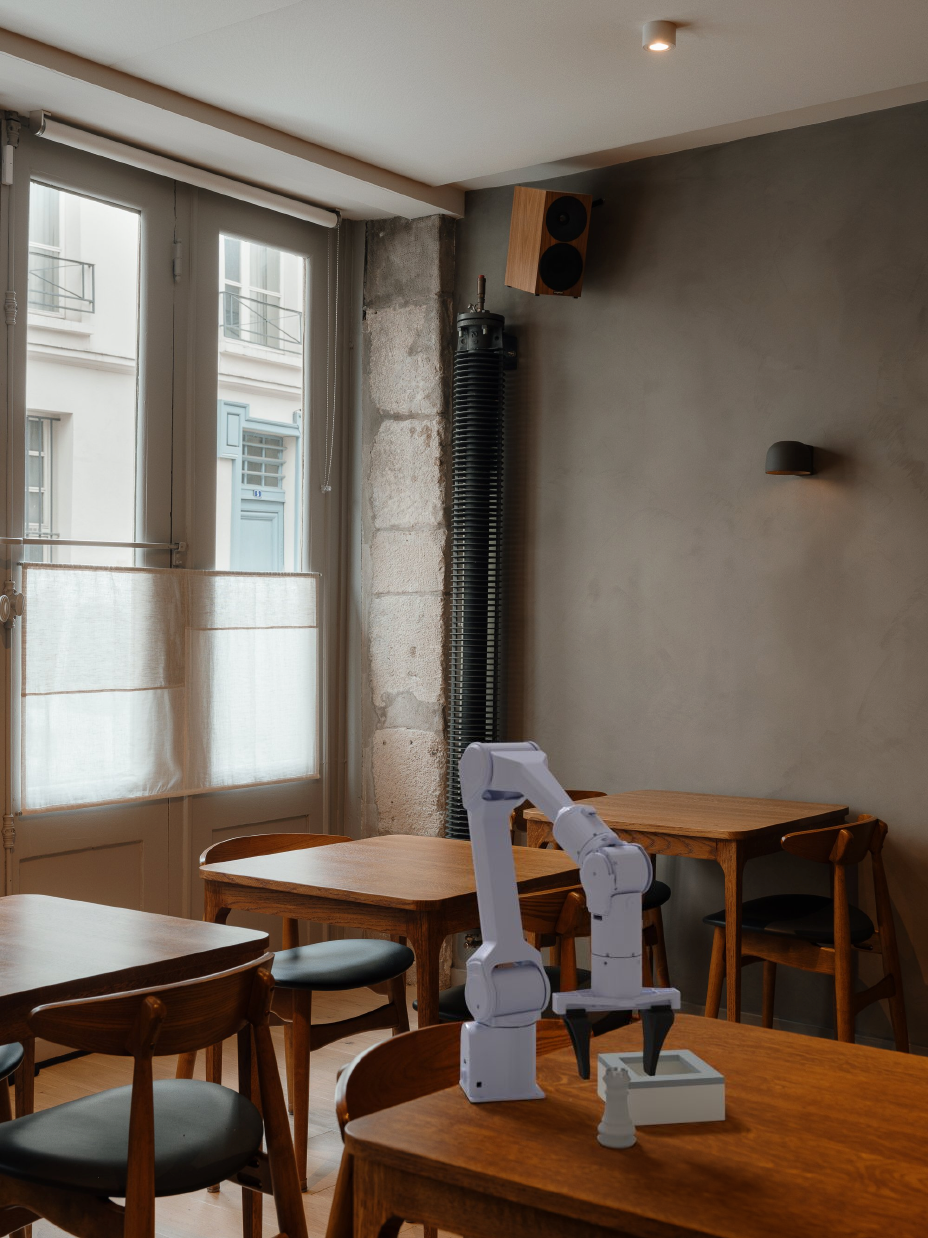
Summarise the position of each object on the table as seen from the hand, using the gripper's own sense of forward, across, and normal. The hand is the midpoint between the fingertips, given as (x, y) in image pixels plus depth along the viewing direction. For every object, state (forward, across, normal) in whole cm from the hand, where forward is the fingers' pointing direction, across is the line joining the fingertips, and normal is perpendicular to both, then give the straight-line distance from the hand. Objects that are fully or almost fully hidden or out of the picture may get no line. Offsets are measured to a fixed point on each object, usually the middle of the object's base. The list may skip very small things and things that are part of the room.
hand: (617, 1075), depth 143 cm
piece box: (+7, +9, +11) cm, 16 cm away
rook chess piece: (+8, 0, 0) cm, 8 cm away
